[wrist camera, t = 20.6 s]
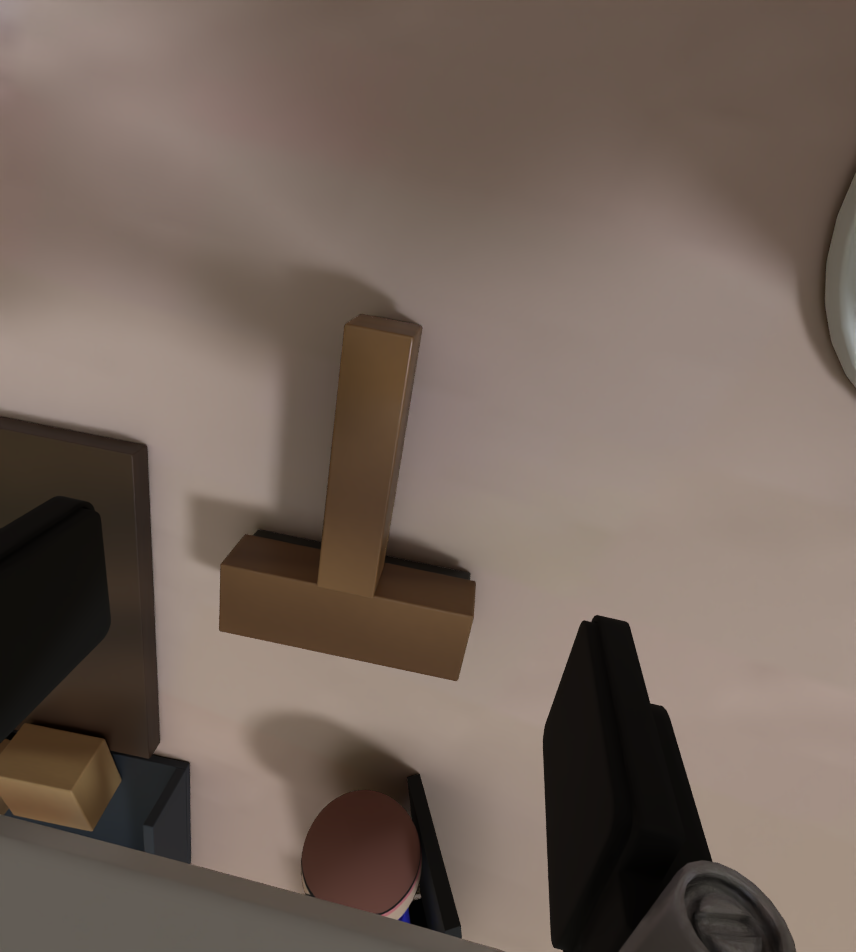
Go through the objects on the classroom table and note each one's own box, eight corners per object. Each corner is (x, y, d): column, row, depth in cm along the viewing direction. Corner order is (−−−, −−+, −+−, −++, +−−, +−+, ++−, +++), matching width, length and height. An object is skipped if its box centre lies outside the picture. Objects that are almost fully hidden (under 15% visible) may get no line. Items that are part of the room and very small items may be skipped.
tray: (-151, 386, 22) (-179, 393, 21) (147, 445, 22) (132, 454, 21) (-71, 692, 29) (-89, 707, 28) (160, 742, 28) (149, 759, 27)
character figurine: (359, 925, 33) (330, 731, 27) (484, 949, 32) (483, 750, 26) (308, 1113, 26) (255, 906, 20) (467, 1154, 25) (459, 945, 19)
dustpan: (-95, 700, 29) (-165, 757, 26) (189, 762, 29) (152, 827, 26) (-36, 903, 36) (-86, 966, 33) (192, 955, 36) (163, 1024, 33)
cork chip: (24, 721, 27) (-17, 774, 25) (105, 737, 27) (71, 792, 25) (48, 764, 29) (12, 815, 27) (122, 779, 29) (92, 832, 27)
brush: (264, 288, 19) (222, 299, 16) (532, 339, 19) (539, 360, 16) (250, 585, 24) (216, 635, 21) (462, 629, 24) (457, 686, 21)
